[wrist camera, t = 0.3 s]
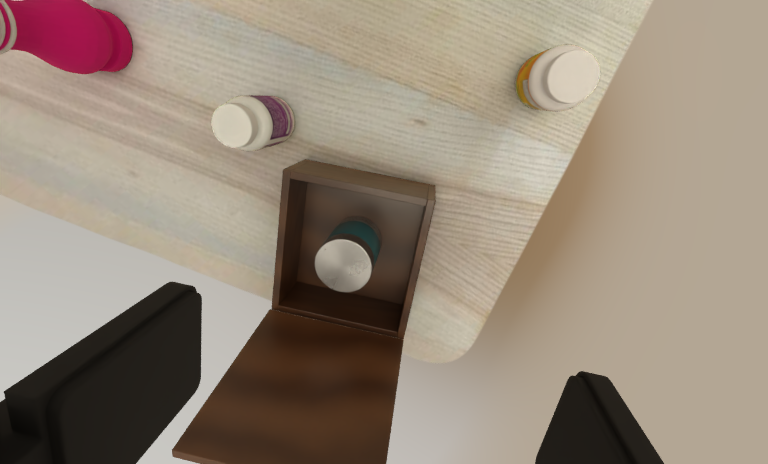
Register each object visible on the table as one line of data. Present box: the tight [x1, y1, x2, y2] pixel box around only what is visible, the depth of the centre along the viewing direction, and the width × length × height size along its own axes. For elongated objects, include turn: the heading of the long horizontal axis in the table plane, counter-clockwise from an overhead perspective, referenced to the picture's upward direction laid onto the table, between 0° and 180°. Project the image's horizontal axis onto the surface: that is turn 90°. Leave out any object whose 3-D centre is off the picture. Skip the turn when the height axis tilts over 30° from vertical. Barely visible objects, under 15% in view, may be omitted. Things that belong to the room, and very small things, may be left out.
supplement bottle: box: [515, 44, 600, 111], centre depth 34 cm, size 5×5×10 cm
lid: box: [172, 310, 403, 464], centre depth 36 cm, size 17×16×5 cm
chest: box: [272, 159, 436, 339], centre depth 44 cm, size 17×16×7 cm
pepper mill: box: [0, 0, 132, 74], centre depth 34 cm, size 7×7×20 cm
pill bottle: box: [211, 95, 295, 151], centre depth 39 cm, size 5×5×10 cm
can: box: [315, 216, 382, 292], centre depth 43 cm, size 6×6×8 cm
